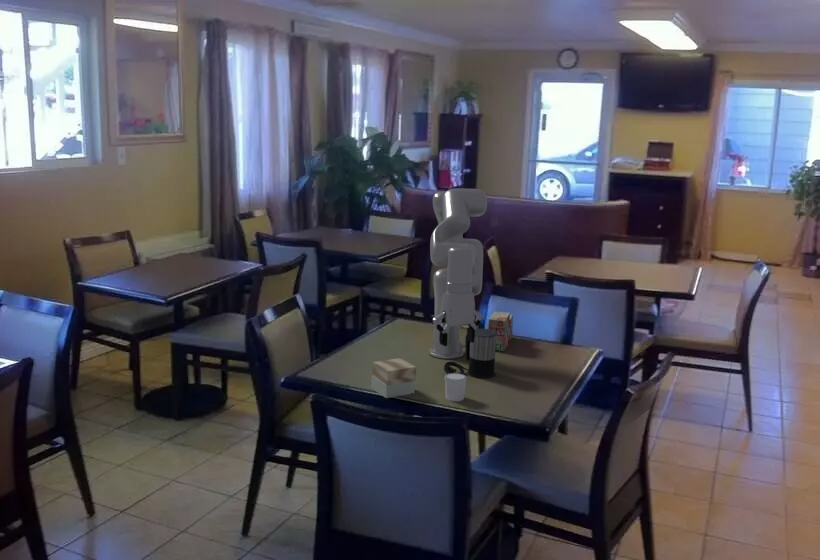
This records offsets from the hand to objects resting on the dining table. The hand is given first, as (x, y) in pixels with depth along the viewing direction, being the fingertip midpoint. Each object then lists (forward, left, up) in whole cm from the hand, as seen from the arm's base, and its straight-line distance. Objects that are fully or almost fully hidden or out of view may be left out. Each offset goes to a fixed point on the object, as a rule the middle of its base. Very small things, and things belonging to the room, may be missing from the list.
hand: (457, 343), depth 240 cm
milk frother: (-17, -17, -18) cm, 30 cm away
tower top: (+14, -14, -14) cm, 24 cm away
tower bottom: (+14, -14, -18) cm, 27 cm away
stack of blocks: (-49, -44, -18) cm, 68 cm away
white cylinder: (0, 0, -18) cm, 18 cm away
